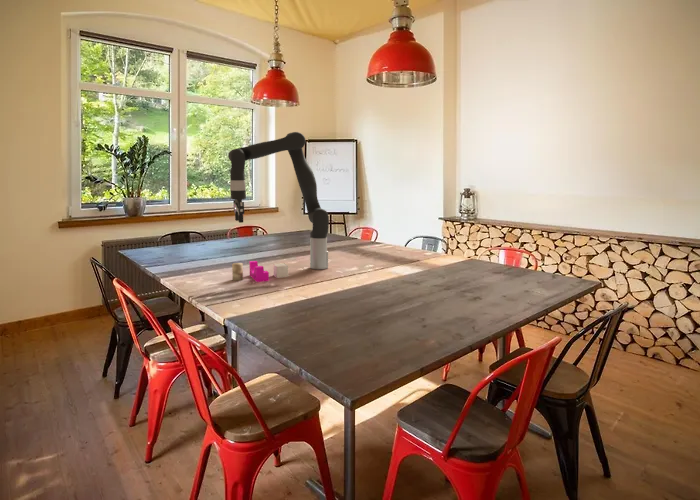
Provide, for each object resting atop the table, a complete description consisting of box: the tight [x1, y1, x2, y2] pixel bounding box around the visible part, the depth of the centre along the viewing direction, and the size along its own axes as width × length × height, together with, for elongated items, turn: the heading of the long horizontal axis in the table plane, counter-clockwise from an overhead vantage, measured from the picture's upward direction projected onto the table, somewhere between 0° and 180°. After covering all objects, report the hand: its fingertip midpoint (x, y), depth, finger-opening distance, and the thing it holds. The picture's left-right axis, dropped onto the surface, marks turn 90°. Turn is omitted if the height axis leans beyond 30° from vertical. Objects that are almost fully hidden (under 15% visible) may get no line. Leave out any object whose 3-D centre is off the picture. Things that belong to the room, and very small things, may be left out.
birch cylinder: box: [231, 262, 244, 282], centre depth 226 cm, size 5×5×8 cm
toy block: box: [248, 260, 270, 283], centre depth 230 cm, size 15×6×8 cm, turn 24°
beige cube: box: [272, 262, 289, 279], centre depth 235 cm, size 6×6×6 cm
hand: (239, 221), depth 233 cm, fingers open, 8 cm apart
